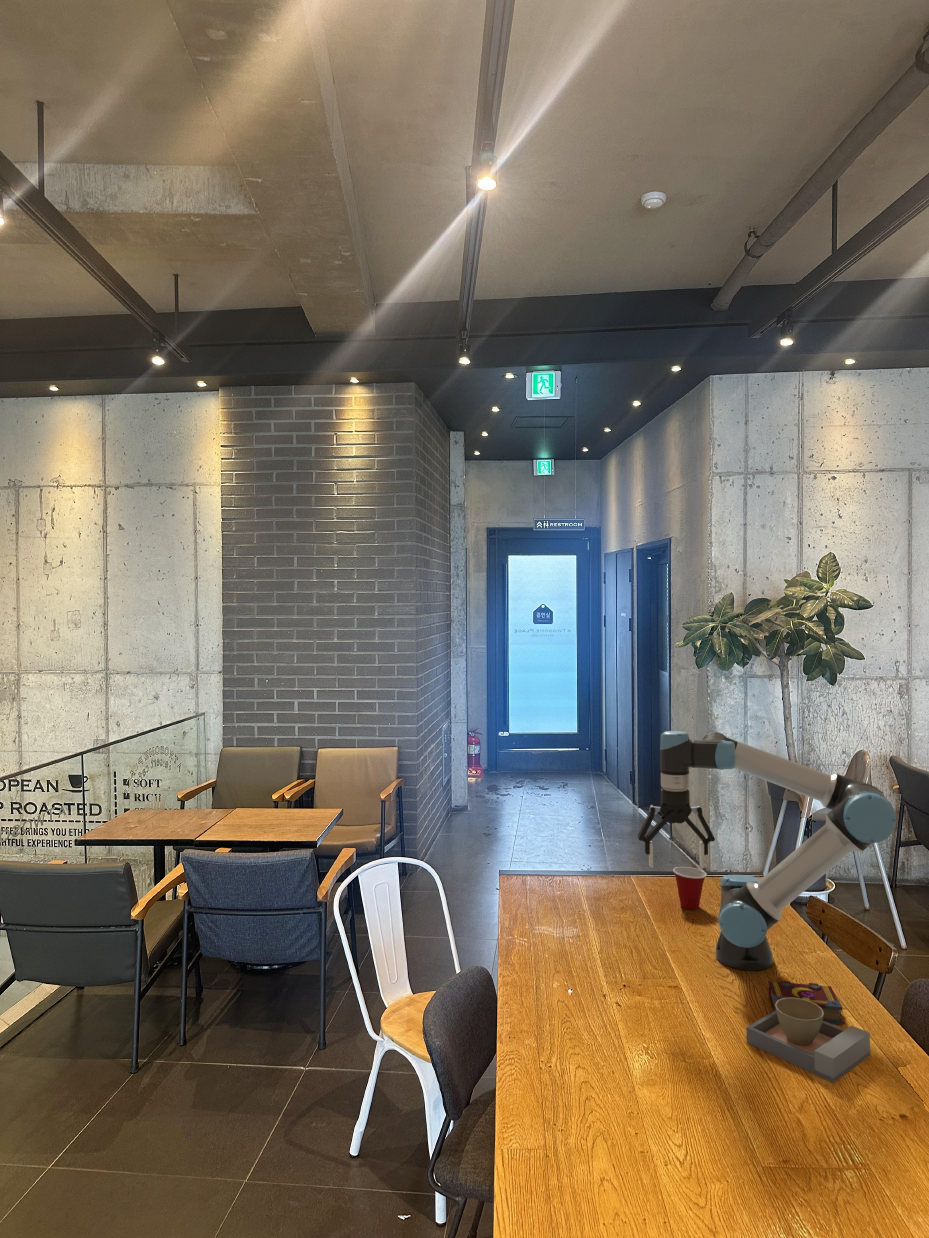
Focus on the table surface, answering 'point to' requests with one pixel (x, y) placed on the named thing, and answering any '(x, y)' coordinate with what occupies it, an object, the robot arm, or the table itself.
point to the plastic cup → (689, 886)
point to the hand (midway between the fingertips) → (676, 866)
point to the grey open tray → (813, 1047)
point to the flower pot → (799, 1019)
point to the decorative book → (809, 997)
